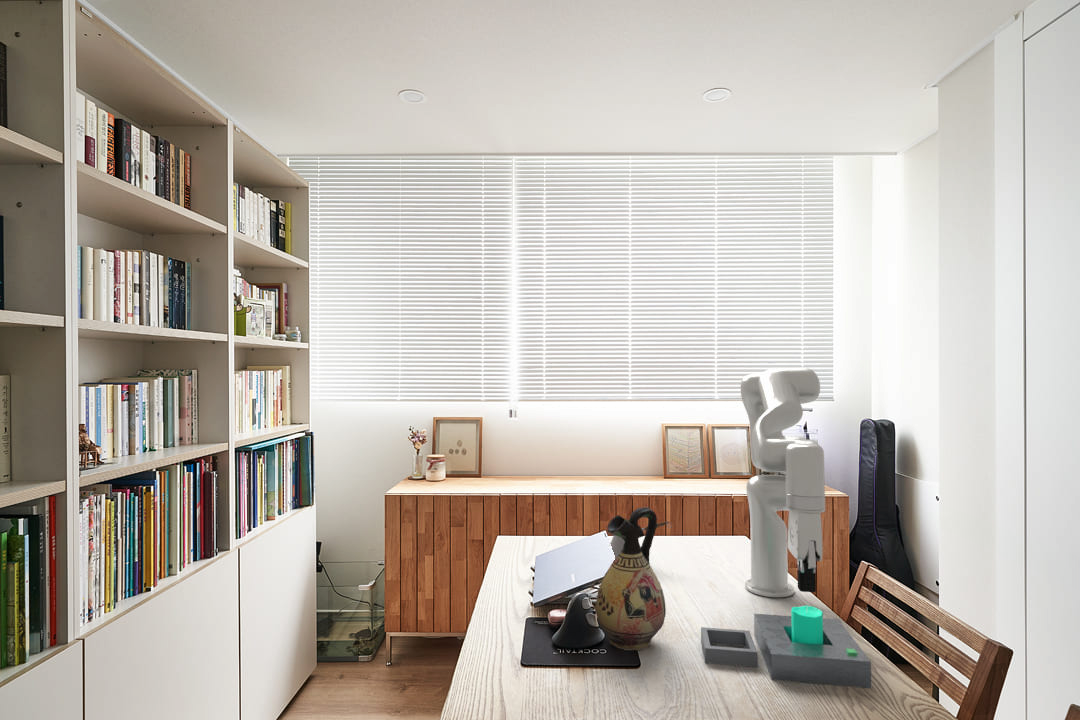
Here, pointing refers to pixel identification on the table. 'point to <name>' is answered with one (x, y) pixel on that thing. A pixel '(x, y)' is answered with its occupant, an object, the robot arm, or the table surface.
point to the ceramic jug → (631, 587)
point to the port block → (811, 654)
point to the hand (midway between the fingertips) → (806, 590)
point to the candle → (807, 625)
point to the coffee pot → (619, 542)
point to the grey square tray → (726, 653)
